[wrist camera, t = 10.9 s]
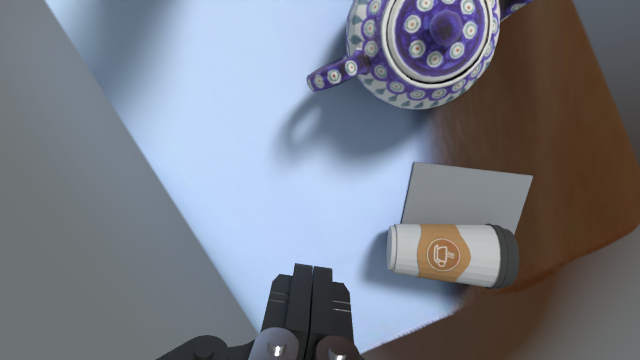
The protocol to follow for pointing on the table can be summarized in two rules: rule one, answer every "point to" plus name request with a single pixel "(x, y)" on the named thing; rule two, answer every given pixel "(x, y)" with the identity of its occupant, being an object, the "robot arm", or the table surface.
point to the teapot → (417, 48)
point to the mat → (464, 196)
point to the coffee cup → (454, 253)
